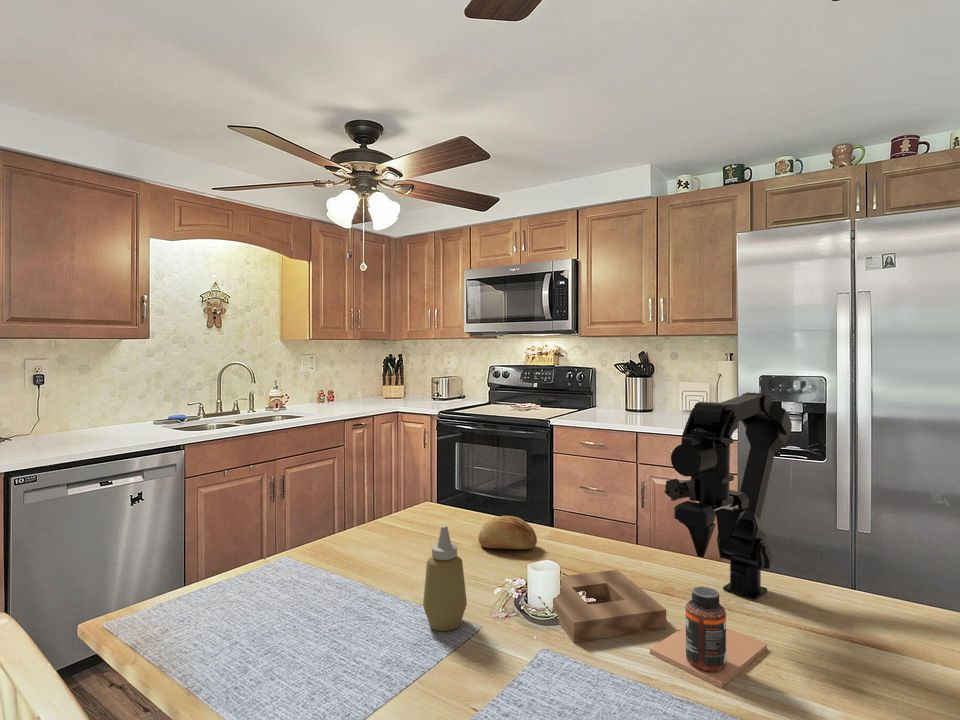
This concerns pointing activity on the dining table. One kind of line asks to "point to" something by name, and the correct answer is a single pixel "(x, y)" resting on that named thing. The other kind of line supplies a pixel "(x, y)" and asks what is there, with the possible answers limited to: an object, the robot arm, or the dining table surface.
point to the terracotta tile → (737, 655)
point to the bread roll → (507, 534)
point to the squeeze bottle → (444, 585)
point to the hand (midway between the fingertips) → (712, 550)
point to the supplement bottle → (705, 630)
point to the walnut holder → (606, 607)
